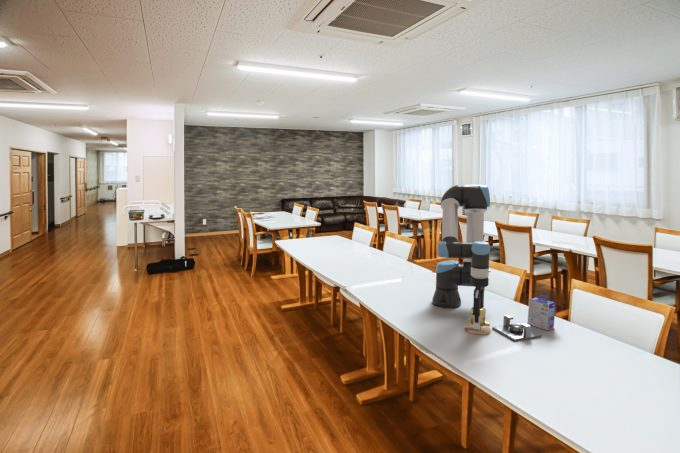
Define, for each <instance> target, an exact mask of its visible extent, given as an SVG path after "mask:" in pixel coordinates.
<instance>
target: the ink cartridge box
mask: <svg viewBox="0 0 680 453" xmlns="http://www.w3.org/2000/svg"><path fill="white" fill-rule="evenodd" d="M548 298H549V296H548V295H545V294H542V293H541V294H540V295H539V296H538V297H532V298H529V299H528V300H529V301H528V312H527V313H528V314H527V322H526V324H528V325H530V326H534V327H536V328H539V329H543V330H545V331H549V330H553V329H555V316H556V302H554V301H550V300H548Z"/></svg>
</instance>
